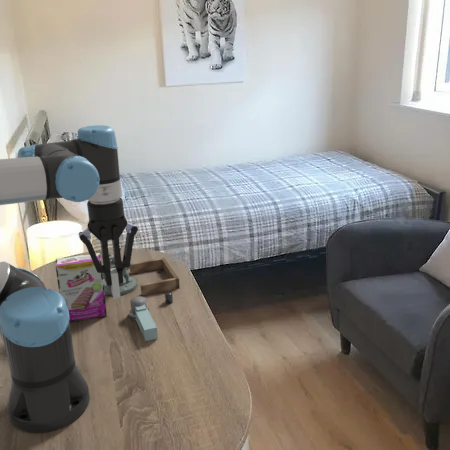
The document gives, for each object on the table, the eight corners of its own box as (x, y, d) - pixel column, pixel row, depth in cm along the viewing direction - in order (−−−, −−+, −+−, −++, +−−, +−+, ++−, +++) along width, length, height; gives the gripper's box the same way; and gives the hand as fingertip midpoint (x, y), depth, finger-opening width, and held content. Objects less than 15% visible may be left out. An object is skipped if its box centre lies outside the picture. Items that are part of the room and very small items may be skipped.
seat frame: (142, 295, 140) (141, 286, 139) (130, 272, 154) (129, 263, 153) (179, 288, 144) (179, 278, 143) (164, 266, 158) (164, 257, 157)
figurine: (144, 283, 147) (141, 246, 143) (119, 299, 139) (115, 259, 135) (118, 275, 153) (114, 239, 148) (92, 290, 144) (87, 252, 140)
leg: (143, 341, 119) (142, 327, 117) (130, 311, 132) (128, 298, 130) (159, 337, 120) (158, 323, 119) (145, 308, 133) (144, 295, 132)
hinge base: (132, 321, 128) (131, 312, 127) (126, 308, 134) (125, 300, 133) (179, 311, 132) (178, 302, 131) (171, 299, 138) (171, 291, 137)
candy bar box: (63, 324, 127) (54, 265, 121) (63, 314, 131) (54, 257, 126) (108, 316, 130) (101, 259, 124) (106, 307, 135) (99, 251, 129)
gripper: (75, 208, 102) (89, 310, 110) (138, 199, 106) (147, 297, 115) (71, 198, 108) (85, 294, 117) (131, 190, 113) (140, 283, 121)
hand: (116, 296), depth 116 cm, fingers closed
